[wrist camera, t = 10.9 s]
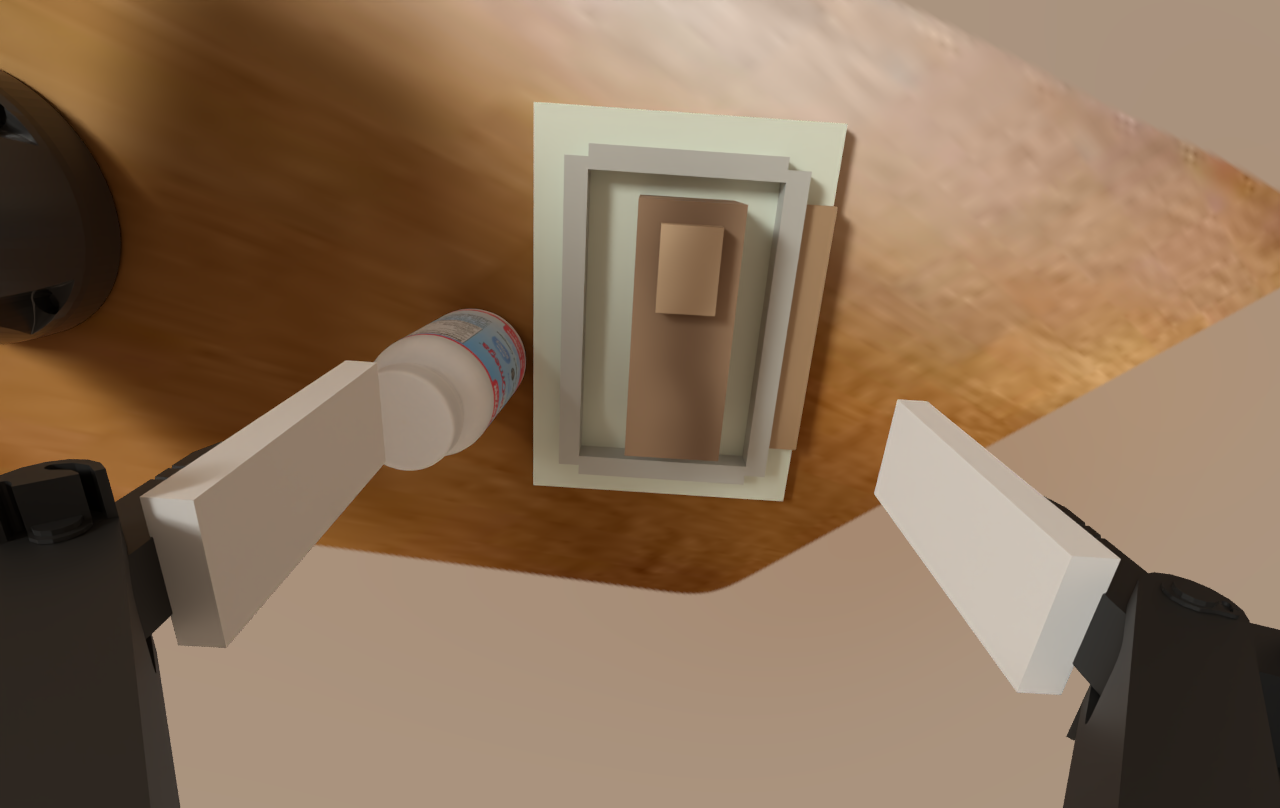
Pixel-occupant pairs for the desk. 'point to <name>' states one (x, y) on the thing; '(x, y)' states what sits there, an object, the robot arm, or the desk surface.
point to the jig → (604, 283)
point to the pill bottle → (446, 385)
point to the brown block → (682, 324)
